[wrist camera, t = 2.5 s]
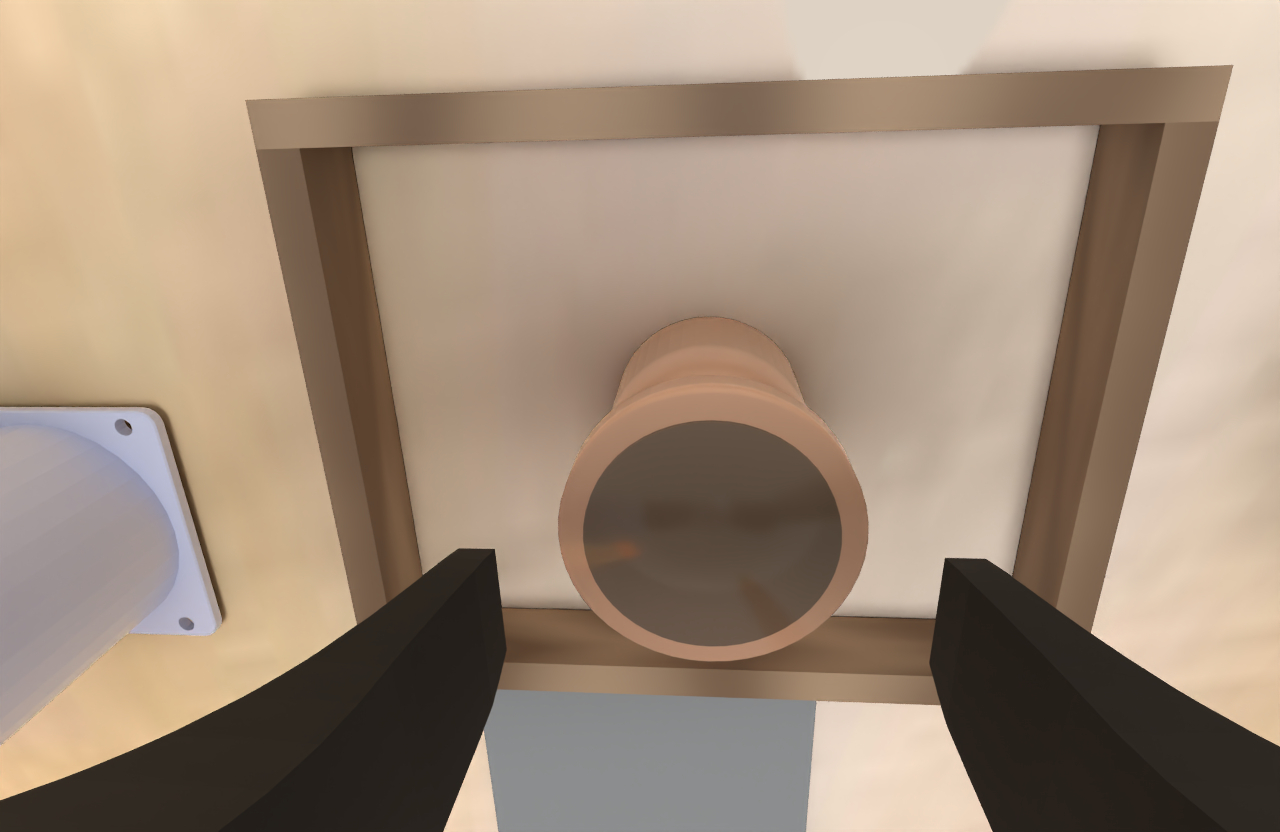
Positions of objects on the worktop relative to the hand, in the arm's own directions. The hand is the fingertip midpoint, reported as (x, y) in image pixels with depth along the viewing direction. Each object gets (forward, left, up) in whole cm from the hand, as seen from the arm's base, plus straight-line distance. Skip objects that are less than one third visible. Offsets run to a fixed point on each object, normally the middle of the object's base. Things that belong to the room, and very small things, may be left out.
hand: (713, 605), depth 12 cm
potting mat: (-2, -15, -9) cm, 18 cm away
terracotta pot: (0, 0, -9) cm, 9 cm away
